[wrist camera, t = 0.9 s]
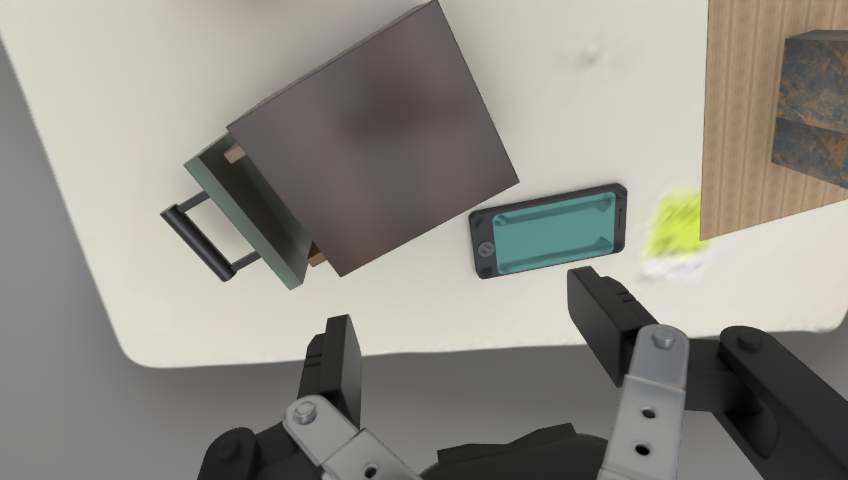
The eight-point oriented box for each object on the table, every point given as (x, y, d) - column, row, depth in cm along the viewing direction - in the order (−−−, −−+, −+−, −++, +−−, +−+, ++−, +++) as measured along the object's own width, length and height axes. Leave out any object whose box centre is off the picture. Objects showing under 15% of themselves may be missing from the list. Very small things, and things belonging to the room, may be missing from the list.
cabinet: (347, 223, 40) (340, 277, 32) (261, 101, 35) (225, 127, 26) (487, 146, 38) (520, 182, 30) (420, 4, 33) (436, -2, 24)
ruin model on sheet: (853, 197, 45) (968, 239, 36) (699, 241, 45) (776, 293, 37) (917, -92, 33) (1107, -131, 25) (710, -29, 34) (826, -47, 25)
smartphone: (470, 217, 40) (628, 186, 40) (468, 212, 41) (622, 181, 41) (479, 283, 43) (625, 254, 44) (476, 276, 45) (619, 248, 45)
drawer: (253, 272, 41) (228, 323, 34) (163, 171, 36) (113, 207, 29) (433, 173, 38) (446, 206, 31) (364, 49, 33) (362, 56, 26)
